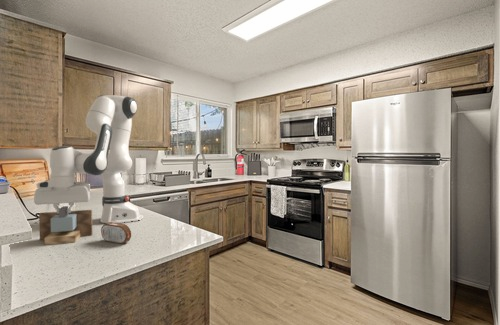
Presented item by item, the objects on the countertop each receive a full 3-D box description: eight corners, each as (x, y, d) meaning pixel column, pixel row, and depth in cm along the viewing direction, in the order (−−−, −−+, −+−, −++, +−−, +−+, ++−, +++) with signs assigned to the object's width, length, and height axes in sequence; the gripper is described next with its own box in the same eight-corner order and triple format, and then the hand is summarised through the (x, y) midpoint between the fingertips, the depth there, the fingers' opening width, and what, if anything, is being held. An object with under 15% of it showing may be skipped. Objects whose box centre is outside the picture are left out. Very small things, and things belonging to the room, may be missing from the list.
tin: (131, 243, 109) (131, 224, 109) (126, 245, 106) (126, 226, 106) (105, 239, 114) (105, 220, 114) (99, 241, 111) (99, 222, 111)
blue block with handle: (76, 226, 116) (76, 205, 116) (72, 230, 111) (72, 208, 110) (56, 228, 113) (55, 206, 113) (50, 232, 108) (50, 209, 107)
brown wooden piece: (92, 234, 120) (92, 209, 120) (87, 240, 111) (86, 214, 111) (41, 239, 113) (40, 212, 112) (31, 246, 104) (30, 217, 104)
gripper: (91, 180, 118) (92, 209, 118) (38, 182, 111) (39, 213, 111) (88, 182, 112) (89, 212, 112) (31, 184, 105) (32, 216, 105)
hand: (63, 213), depth 112 cm, fingers closed on blue block with handle
